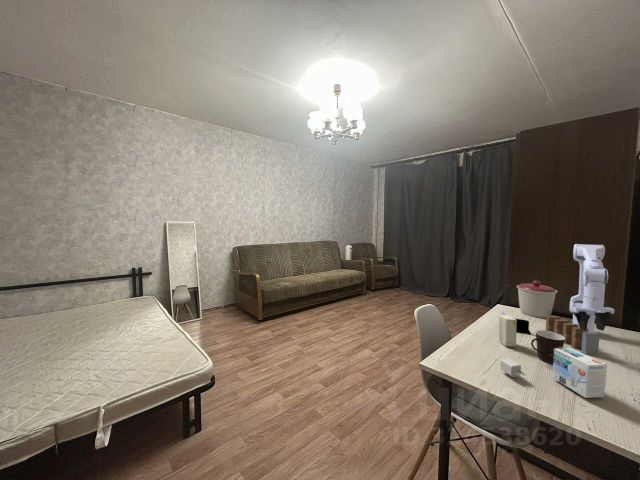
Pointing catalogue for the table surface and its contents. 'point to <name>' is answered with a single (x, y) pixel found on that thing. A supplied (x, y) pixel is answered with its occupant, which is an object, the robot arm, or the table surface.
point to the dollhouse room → (522, 326)
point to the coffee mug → (547, 344)
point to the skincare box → (507, 330)
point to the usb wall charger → (511, 367)
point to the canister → (536, 299)
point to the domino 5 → (590, 343)
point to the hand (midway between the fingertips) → (591, 329)
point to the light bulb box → (579, 372)
